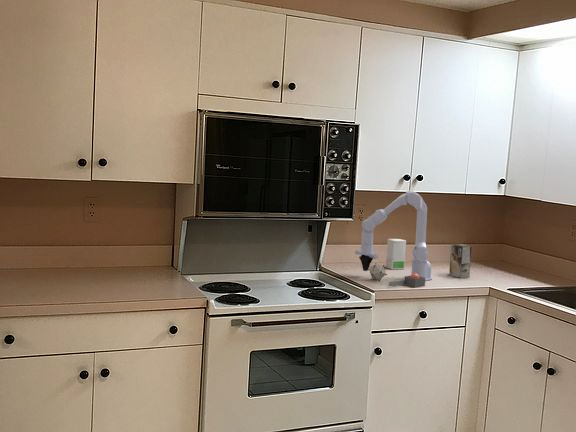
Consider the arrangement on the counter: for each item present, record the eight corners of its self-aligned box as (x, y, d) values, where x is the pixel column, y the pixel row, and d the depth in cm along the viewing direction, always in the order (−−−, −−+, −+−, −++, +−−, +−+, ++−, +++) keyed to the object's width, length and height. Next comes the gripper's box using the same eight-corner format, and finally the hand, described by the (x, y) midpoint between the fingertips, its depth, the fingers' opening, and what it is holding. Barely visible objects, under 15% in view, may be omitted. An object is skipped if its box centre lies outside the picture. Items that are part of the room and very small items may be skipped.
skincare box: (391, 269, 343) (393, 240, 341) (385, 267, 349) (386, 238, 347) (405, 269, 346) (406, 240, 344) (398, 266, 352) (400, 238, 350)
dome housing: (414, 283, 313) (414, 274, 313) (424, 286, 308) (425, 277, 307) (404, 284, 309) (404, 276, 309) (414, 287, 304) (415, 279, 303)
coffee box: (470, 277, 332) (472, 246, 330) (460, 278, 329) (462, 246, 327) (457, 273, 340) (460, 243, 338) (448, 274, 337) (450, 243, 335)
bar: (402, 284, 309) (402, 279, 309) (404, 284, 308) (404, 279, 308) (388, 286, 304) (389, 281, 304) (390, 286, 303) (391, 281, 303)
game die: (375, 288, 315) (369, 273, 310) (369, 278, 323) (363, 264, 317) (392, 280, 315) (385, 265, 310) (385, 270, 323) (379, 255, 317)
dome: (414, 282, 312) (415, 271, 311) (422, 284, 308) (422, 273, 307) (407, 283, 309) (407, 272, 308) (414, 285, 305) (415, 274, 304)
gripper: (351, 241, 325) (349, 268, 327) (371, 246, 313) (369, 274, 315) (361, 240, 329) (360, 267, 331) (381, 245, 318) (380, 272, 319)
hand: (365, 270), depth 323 cm, fingers closed
